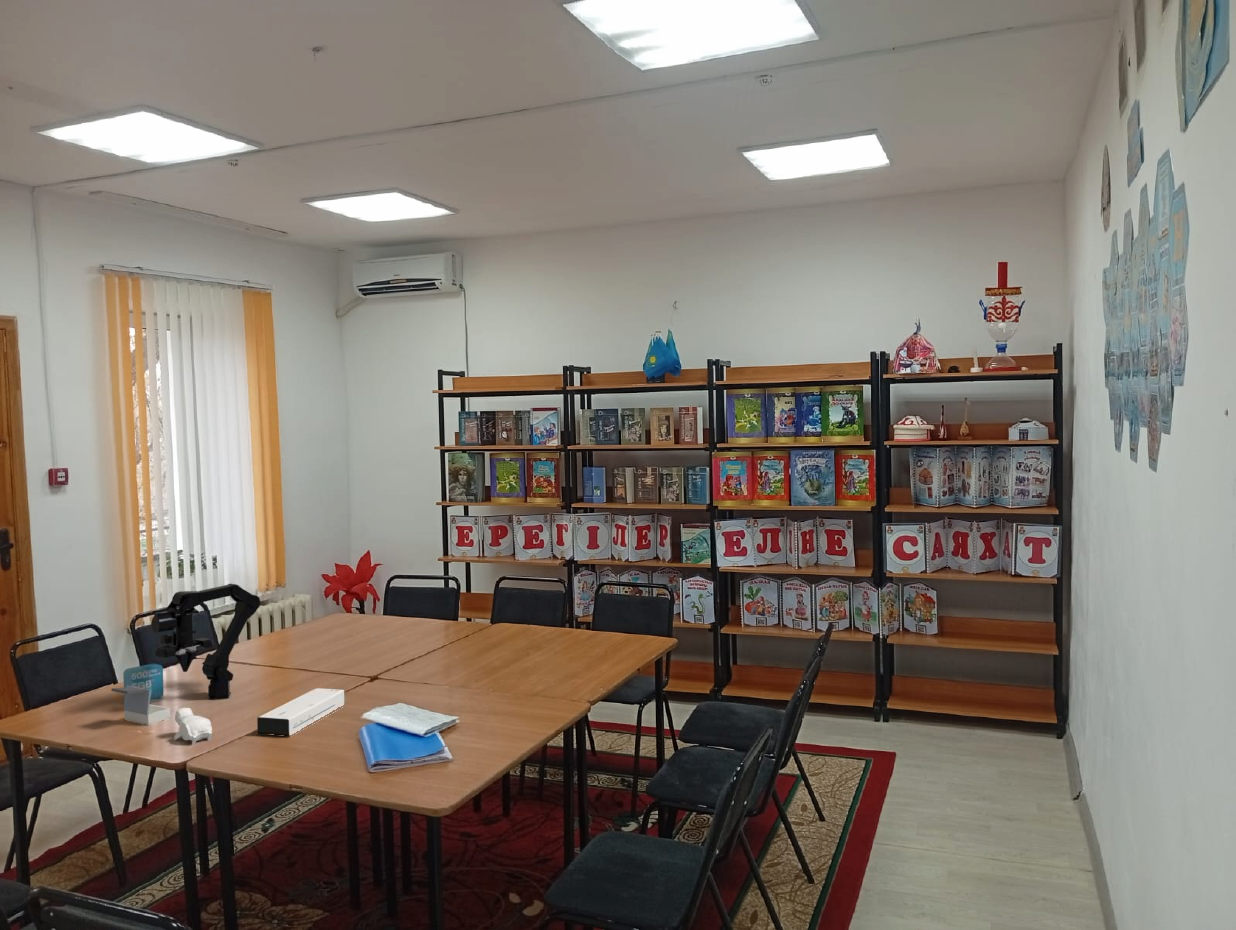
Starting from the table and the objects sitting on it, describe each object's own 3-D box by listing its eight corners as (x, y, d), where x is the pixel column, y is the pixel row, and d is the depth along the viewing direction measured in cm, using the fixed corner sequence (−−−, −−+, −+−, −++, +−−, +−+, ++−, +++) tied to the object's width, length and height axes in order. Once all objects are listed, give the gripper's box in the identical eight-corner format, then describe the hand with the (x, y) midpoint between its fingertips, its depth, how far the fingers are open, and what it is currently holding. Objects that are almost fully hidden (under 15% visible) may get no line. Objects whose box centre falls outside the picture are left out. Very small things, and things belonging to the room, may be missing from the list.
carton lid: (127, 685, 305) (107, 687, 299) (151, 690, 300) (131, 692, 293) (124, 710, 304) (104, 712, 298) (148, 714, 299) (128, 717, 293)
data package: (129, 704, 322) (128, 671, 322) (123, 702, 325) (123, 669, 324) (163, 697, 331) (163, 664, 331) (158, 694, 334) (157, 662, 334)
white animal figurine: (213, 747, 286) (190, 721, 295) (218, 724, 284) (195, 699, 293) (186, 755, 280) (164, 728, 288) (191, 731, 278) (168, 705, 286)
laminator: (288, 738, 286) (288, 719, 286) (254, 736, 289) (254, 716, 289) (344, 707, 319) (344, 689, 319) (313, 705, 322) (313, 687, 322)
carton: (146, 713, 311) (146, 703, 311) (170, 718, 306) (169, 708, 306) (124, 720, 304) (124, 710, 304) (148, 725, 299) (148, 714, 299)
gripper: (193, 620, 332) (194, 663, 332) (145, 630, 316) (146, 675, 316) (213, 623, 326) (214, 666, 327) (165, 633, 310) (166, 679, 311)
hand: (185, 671), depth 320 cm, fingers closed
